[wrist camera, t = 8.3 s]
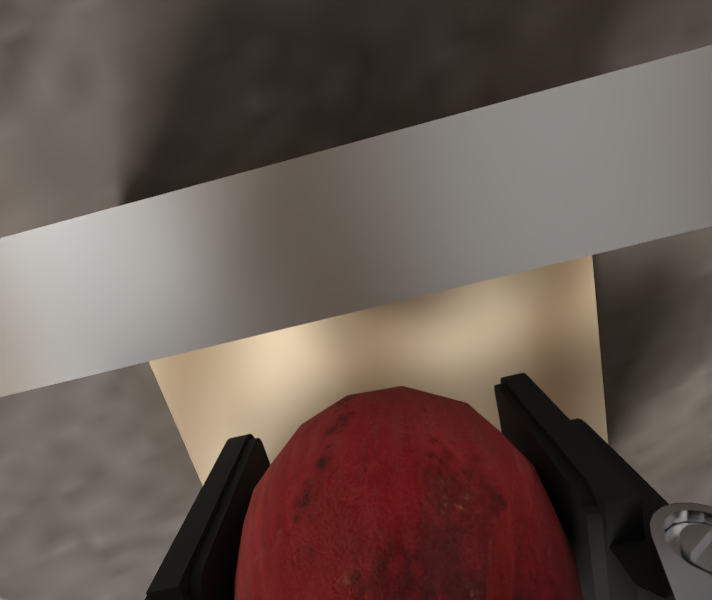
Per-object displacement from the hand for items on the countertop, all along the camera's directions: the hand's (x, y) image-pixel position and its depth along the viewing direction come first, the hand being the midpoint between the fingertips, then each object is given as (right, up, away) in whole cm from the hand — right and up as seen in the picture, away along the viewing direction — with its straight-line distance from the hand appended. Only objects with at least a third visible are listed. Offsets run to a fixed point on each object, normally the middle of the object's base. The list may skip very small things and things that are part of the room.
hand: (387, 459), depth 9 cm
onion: (0, 0, +1) cm, 1 cm away
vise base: (+1, -1, +6) cm, 6 cm away
